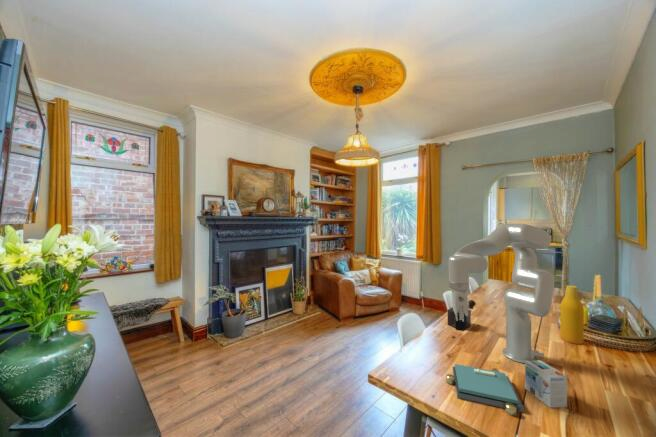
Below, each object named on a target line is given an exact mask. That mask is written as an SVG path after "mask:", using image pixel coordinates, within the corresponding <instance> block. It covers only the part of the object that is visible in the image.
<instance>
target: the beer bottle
mask: <svg viewBox="0 0 656 437" xmlns="http://www.w3.org/2000/svg"><path fill="white" fill-rule="evenodd" d="M561 300H562V301H561V302H560V307H559V308H560V316H559V318H560V319H559V320H560V321H559V322H560V328H559V329H560V332H559V337H560V339H561V340H563V341H565V342H567V343H569V344H575V345H583V344H584V342H585V341H584V336H585V334H584V332H585V331H584V321H585V320H584V316H585V314H584V313H585V312H584V311H585V309H584V305H583V303H582V302H581V300H580V296H579V291H578V286H576V285H570V284H569V285H568V284H567V285H566V288H565V294H564V297H563V298H562V299H561Z"/></svg>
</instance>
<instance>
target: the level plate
mask: <svg viewBox="0 0 656 437" xmlns="http://www.w3.org/2000/svg"><path fill="white" fill-rule="evenodd" d="M454 367H455V371H456V376H457V381H458V387H459V391H460V392H464V393H469V394H474V395H478V396H483V397H487V398H492V399H497V400H501V401H506V402H511V403H515V404H518V399H517V397H516V395H515V393H514V391H513V389H512V387H511V385H510V383H509V381H508V379H507V377H506V376H507V375H506V373H505V372H500V371H499V372H496V371H491V370H492V369H490V370H489V369H485V368H478V367H474V366H468V365H462V364H457V363H454Z"/></svg>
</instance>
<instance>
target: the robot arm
mask: <svg viewBox="0 0 656 437" xmlns="http://www.w3.org/2000/svg"><path fill="white" fill-rule="evenodd" d="M551 243H552V238H551V234H550V233H549V232H548V231H546V230H545V229H542V228H539V227H536V226H534V225H531V224H525V223H503V224H501V225H498V227H496V229H494V230H493V231H492V232H491V233H489V234H488V235H487V236H486V237H484V238H481V239H479V240H475V241H473V242H470V243H467V244H464V245H463V246H462V247H461V248H459V249H458V250H457V251H455V253H454V254H453V255H451V256H449V257H448V289H449V290H450V291H451V300H452V302H451V303H452V307H453V310H454V313H455V318H456V319H455V327H454V328H455V331H460V332H464V331H465V330H464V313H465V316H467V317H468V316H469V314H468V310H469V307H468V305H469V303H468V301H469V300H468V299H469V298H468V292H469V291H470V274H481V273H484V272H485V271H486V270H487V269H488V266H489V263H488V260H487V259H486V258H485V257H488V256H495V255H498V254H500V253H502V252H503V251H504V250H506V248H508V246H511V248H512V250H513V252H514V263H513V268H512V274H511V282H512V283H513V284H514V285H515V286H518V287H521V288H524V289H529V290H534V292H532V291H528V290H523V289H520V288H509V289H507V290H505V292H504V294H503V302H504V306H505V312H506V321H505V322H506V326H505V327H506V333H505V334H506V335H505V338H506V341H505V342H506V344H505V345H506V346H505V348H503V349H502V350H501V352H502V355H503V356H504V357H506V358H507V359H509V360H512V361H514V362H517V363H522V364H526V361H537V360H536V357H537V358H543V359H544V358H545V354H544V353H543V352H540V351H538V350H535V349H532V320H531V316H530V315H533V316H536V317H541V318H544V317H546V316H548V315H549V314H550V311H551V306H552V302H553V301H552V300H553V296H554V295H553V294H554V290H555V277H554V276H553V273H551V272H549V271H548V270H544V269H539V268H537V264H538V257H537V254H536V253H535V251H534V250H533V249H535V250H536V249H537V250H545V249H547V248H548V247H549V246H550V245H551Z"/></svg>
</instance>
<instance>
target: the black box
mask: <svg viewBox="0 0 656 437" xmlns="http://www.w3.org/2000/svg"><path fill="white" fill-rule="evenodd" d="M475 306H476V302H475V300H472V299H470V300H468V314H469V316H468V317H467V316H465V313H464V331H465V330H468V329H469V328H470V327H471V326H472V321H471V320H472V319H471V317H472V314H471V313H472V309H473V310H474V307H475ZM455 319H456V318H455V313H454V310H453V306H452V307H450V308H447V326H448V325H449V327H451V328H455Z"/></svg>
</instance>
